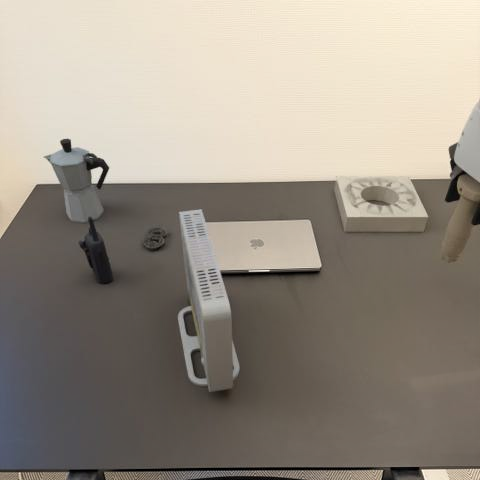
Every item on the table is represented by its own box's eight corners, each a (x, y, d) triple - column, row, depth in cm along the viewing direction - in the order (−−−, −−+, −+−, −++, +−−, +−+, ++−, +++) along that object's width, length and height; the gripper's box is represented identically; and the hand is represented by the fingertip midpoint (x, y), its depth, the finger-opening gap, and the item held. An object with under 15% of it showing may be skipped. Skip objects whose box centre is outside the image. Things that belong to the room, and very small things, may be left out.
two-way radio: (116, 281, 95) (99, 219, 84) (94, 289, 94) (75, 226, 83) (107, 266, 99) (90, 204, 88) (86, 273, 97) (67, 211, 86)
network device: (247, 396, 75) (248, 307, 61) (193, 406, 74) (181, 317, 60) (218, 292, 93) (213, 203, 79) (174, 298, 92) (161, 210, 77)
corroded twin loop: (170, 230, 107) (169, 226, 107) (163, 251, 102) (162, 248, 101) (148, 229, 108) (148, 225, 107) (140, 250, 102) (139, 246, 101)
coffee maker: (52, 220, 111) (27, 147, 98) (68, 200, 117) (47, 129, 104) (112, 226, 109) (95, 152, 96) (125, 206, 115) (110, 134, 102)
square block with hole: (404, 190, 119) (408, 176, 116) (423, 231, 107) (428, 216, 104) (334, 190, 119) (336, 176, 117) (344, 231, 107) (347, 216, 104)
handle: (443, 270, 83) (472, 196, 72) (428, 248, 88) (453, 175, 77) (469, 267, 84) (501, 193, 73) (452, 245, 88) (480, 172, 77)
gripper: (578, 122, 60) (521, 236, 73) (490, 76, 72) (453, 182, 85) (530, 131, 59) (480, 246, 72) (447, 83, 70) (417, 189, 83)
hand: (466, 210), depth 78 cm, fingers closed on handle, 6 cm apart
